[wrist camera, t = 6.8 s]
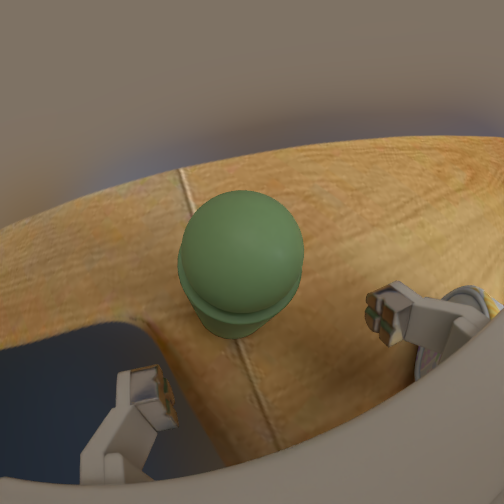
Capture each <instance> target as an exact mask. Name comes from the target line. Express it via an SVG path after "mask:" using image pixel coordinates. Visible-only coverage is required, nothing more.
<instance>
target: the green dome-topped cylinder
mask: <svg viewBox="0 0 504 504" xmlns="http://www.w3.org/2000/svg"><path fill="white" fill-rule="evenodd" d="M303 259H304V245H303V238H302V235H301V231H300V229H299V226H298V224H297V223H296V221H295V219H294V218H293V216H292V215H291V213H290V212H289V211H288V210H287V209H286V208H285V207H284V206H283V205H282V204H280V203H279V202H278V201H276V200H275V199H273V198H271V197H269V196H267V195H264V194H262V193H258V192H254V191H246V190H238V191H231V192H226V193H223V194H220V195H218V196H216V197H214V198H212V199H210V200H209V201H207V202H206V203H205V204H203V205H202V206H201V207H200V208H199V209H198V210H197V211H196V212H195V213H194V215H193V216H192V218H191V219H190V221H189V223H188V225H187V227H186V229H185V232H184V235H183V239H182V243H181V246H180V250H179V254H178V275H179V279H180V283H181V285H182V287H183V290H184V292H185V294H186V295H187V297H188V299H189V301H190V303H191V304H192V306H193V308H194V310H195V312H196V313H197V315H198V317H199V319H200V320H201V322H202V324H203V325H204V326H205V327H206V328H207V329H208V330H209V331H210V332H212V333H213V334H215V335H217V336H219V337H222V338H226V339H239V338H243V337H246V336H248V335H250V334H252V333H253V332H255V331H256V330H257V329H259V328H260V327H261V326H263V325H264V324H265V323H266V322H268V321H269V320H270V319H271V318H273V317H274V316H275V315H276V314H278V313H279V312H280V311H281V310H282V309H283V308H285V307H286V306H287V304H288V303H289V302H290V301H291V300H292V298H293V296H294V295H295V293H296V291H297V289H298V287H299V283H300V280H301V274H302V265H303Z"/></svg>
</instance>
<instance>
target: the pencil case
mask: <svg viewBox="0 0 504 504" xmlns="http://www.w3.org/2000/svg"><path fill="white" fill-rule="evenodd" d="M441 300H444V301H449V302H454V303H459V304H464V305H470V306H473V307H474V308H476V309H477V310H478V311H480V312H481V313H483V314H484V315H485V316H487V317H488V318H489V319H491V320H492V319H493V318H494V317H495V316H496V315H497V314H498V313H499V312H500V311H501V310H502V309H503V308H504V305H502V304H500V303H499V302H498V301H496V300H495V299H494V298H492V297H490V296H489V295H488V294H487V293H486V292H485V291H484V290H483V289H481V288H479V287H476V286H472V285H467V286H462V287H459V288H457V289H454V290H453V291H451V292H450V293H448V294H447V295H445V296H444V297H443V298H442V299H441ZM441 355H442V354H440V353H437V352H434V351H431V350H429V349H426V348H423V347H421V346H419V348H418V352H417V357H416V362H415V381H417V380H418V379H420V378H421V377H423V376H424V375H425V374H427V373H428V372H430V371H431V370H432V369H434V368H435V367H436V366H438V362H439V360H440V357H441Z"/></svg>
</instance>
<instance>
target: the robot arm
mask: <svg viewBox="0 0 504 504" xmlns="http://www.w3.org/2000/svg"><path fill="white" fill-rule="evenodd" d="M366 303H367V304H368V307H367V308H366V310H365V321H366V324H367V326H368V327H369V329H370V330H371V331H372V332H376V333H379V339H380V340H381V341H382V342H383V343H384V344H385V345H386V346H388V347H391V346H393V345H395V344H397V343H398V342H400V341H402V340H404V339H405V341H408V342H410V343H413V344H415V345H418V346H421V347H423V348H426V349H429V350H431V351H434V352H437V353H440V354H442V355H441V357H440V360H439V362H438V366H436V367H435V368H434V369H432V370H431V371H430V372H428V373H427V374H425V375H424V376H423V377H421V378H420V379H418V380H417V381H415V382H414V383H412V384H411V385H409V386H408V387H406V388H405V389H403V390H402V391H400V392H399V393H397V394H395V395H394V396H392V397H391V398H389V399H387V400H386V401H384V402H382V403H380V404H379V405H377V406H375V407H373V408H372V409H370V410H368V411H366V412H364V413H363V414H361V415H359V416H357V417H355V418H353V419H351V420H349V421H347V422H345V423H343V424H341V425H339V426H337V427H335V428H333V429H331V430H329V431H327V432H324V433H322V434H320V435H318V436H315V437H313V438H311V439H308V440H306V441H304V442H301V443H299V444H296V445H294V446H291V447H288V448H286V449H283V450H280V451H278V452H275V453H272V454H269V455H266V456H263V457H260V458H257V459H254V460H250V461H247V462H244V463H240V464H237V465H233V466H229V467H226V468H222V469H218V470H213V471H209V472H205V473H200V474H195V475H191V476H185V477H179V478H173V479H167V480H159V481H154V480H153V479H152V478H150V477H149V476H148V475H146V474H145V473H144V472H142V469H143V466H144V464H145V462H146V459H147V457H148V455H149V452H150V450H151V448H152V445H153V443H154V440H155V438H156V436H157V432H161V431H165V430H169V429H174V428H178V427H179V424H178V418H177V413H176V411H175V409H174V408H173V405H174V404H175V400H174V395H173V392H172V389H171V386H170V384H169V382H168V380H167V379H166V378H163V372H162V370H161V368H160V366H159V365H157V364H156V365H152V366H147V367H142V368H137V369H132V370H129V371H123V372H119V373H118V375H117V387H116V408H112V409H111V411H110V412H109V414H108V415H107V416H106V418H105V419H104V421H103V422H102V424H101V425H100V427H99V428H98V429H97V431H96V432H95V434H94V435H93V437H92V438H91V440H90V441H89V442H88V444H87V445H86V447H85V448H84V450H83V451H82V453H81V455H80V485H69V484H54V483H44V482H36V481H28V480H22V479H16V478H11V477H2V478H0V504H504V308H503V309H502V310H501V311H500V312H499V313H498V314H497V315H496V316H495V317H494V318H493V319H492V320H491V319H489V318H488V317H487V316H485V315H484V314H483V313H481V312H480V311H478V310H477V309H476V308H474V307H473V306H470V305H464V304H459V303H454V302H449V301H444V300H439V299H434V298H429V297H425V298H422V297H421V296H420V295H418V294H417V293H416V292H414V291H413V290H411V289H410V288H409V287H407V286H406V285H404V284H403V283H402V282H400V281H394V282H392V283H390V284H388V285H386V286H383V287H381V288H379V289H377V290H375V291H372V292H370V293H368V294H367V296H366Z"/></svg>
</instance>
